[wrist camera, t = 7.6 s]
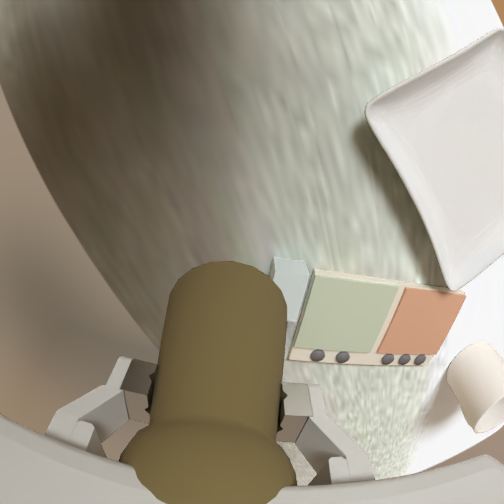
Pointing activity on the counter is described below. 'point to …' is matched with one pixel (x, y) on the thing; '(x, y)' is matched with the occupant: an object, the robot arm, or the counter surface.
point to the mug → (479, 385)
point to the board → (372, 320)
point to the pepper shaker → (217, 392)
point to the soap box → (290, 283)
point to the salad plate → (452, 153)
